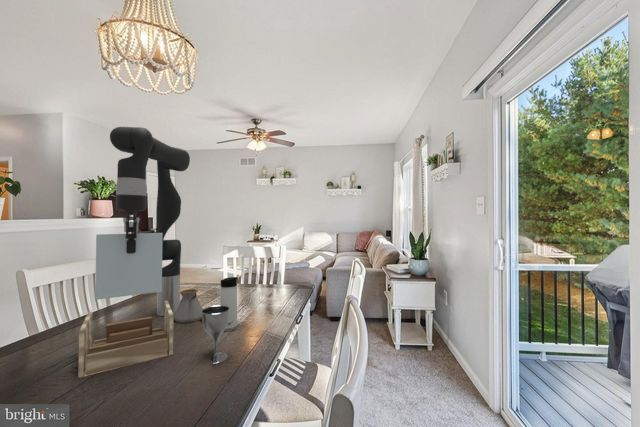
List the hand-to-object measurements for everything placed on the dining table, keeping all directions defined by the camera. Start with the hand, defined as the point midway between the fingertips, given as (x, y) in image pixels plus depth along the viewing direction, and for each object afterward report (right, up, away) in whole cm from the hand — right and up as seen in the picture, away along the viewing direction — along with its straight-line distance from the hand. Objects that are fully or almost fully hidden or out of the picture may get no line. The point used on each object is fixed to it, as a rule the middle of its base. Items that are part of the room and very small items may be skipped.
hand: (131, 252), depth 81 cm
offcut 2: (-3, -32, +3) cm, 32 cm away
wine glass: (+24, -33, +4) cm, 41 cm away
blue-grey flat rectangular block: (0, -12, 0) cm, 12 cm away
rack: (-3, -33, +4) cm, 33 cm away
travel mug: (+20, -34, +27) cm, 47 cm away
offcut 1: (-5, -32, +6) cm, 33 cm away
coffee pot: (+4, -34, +29) cm, 45 cm away
